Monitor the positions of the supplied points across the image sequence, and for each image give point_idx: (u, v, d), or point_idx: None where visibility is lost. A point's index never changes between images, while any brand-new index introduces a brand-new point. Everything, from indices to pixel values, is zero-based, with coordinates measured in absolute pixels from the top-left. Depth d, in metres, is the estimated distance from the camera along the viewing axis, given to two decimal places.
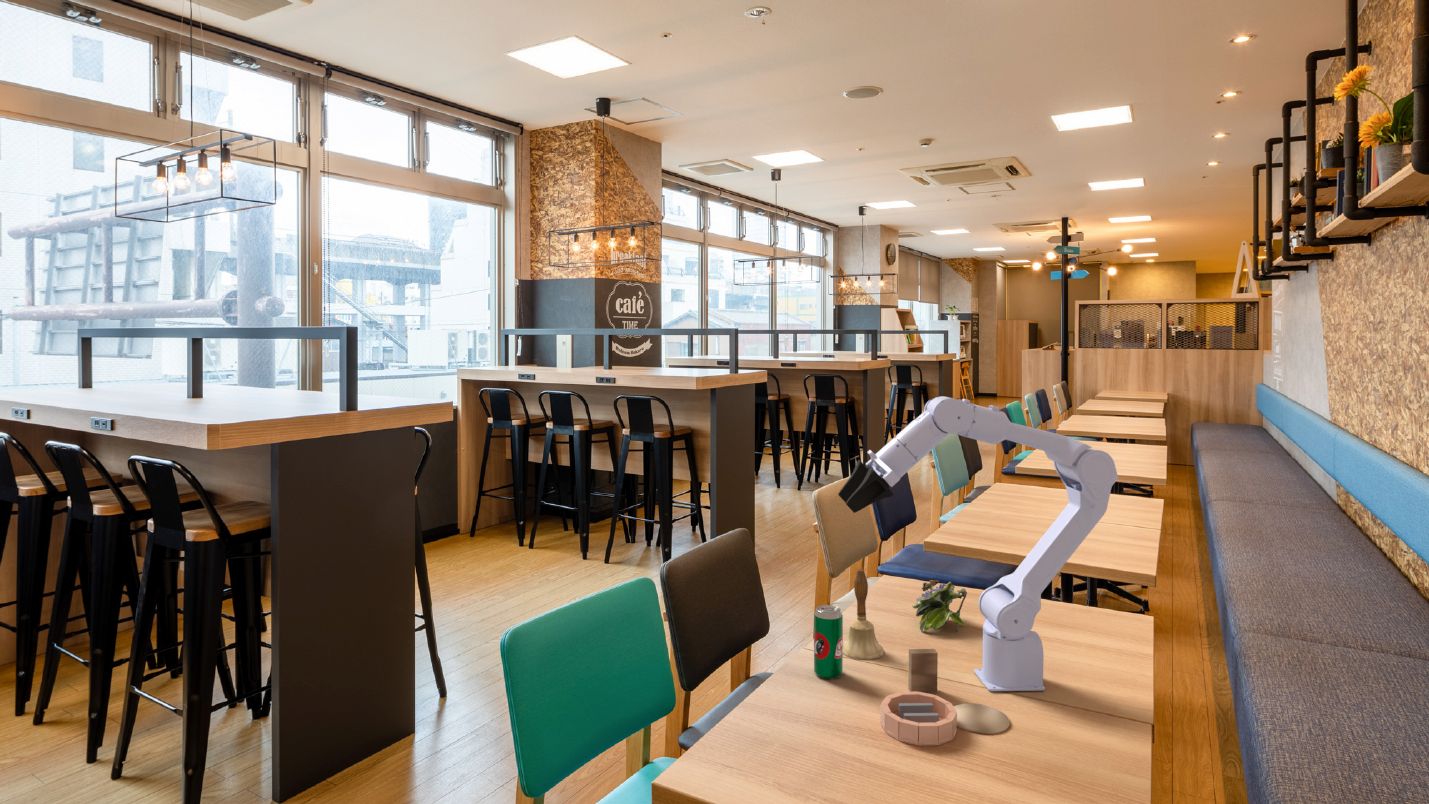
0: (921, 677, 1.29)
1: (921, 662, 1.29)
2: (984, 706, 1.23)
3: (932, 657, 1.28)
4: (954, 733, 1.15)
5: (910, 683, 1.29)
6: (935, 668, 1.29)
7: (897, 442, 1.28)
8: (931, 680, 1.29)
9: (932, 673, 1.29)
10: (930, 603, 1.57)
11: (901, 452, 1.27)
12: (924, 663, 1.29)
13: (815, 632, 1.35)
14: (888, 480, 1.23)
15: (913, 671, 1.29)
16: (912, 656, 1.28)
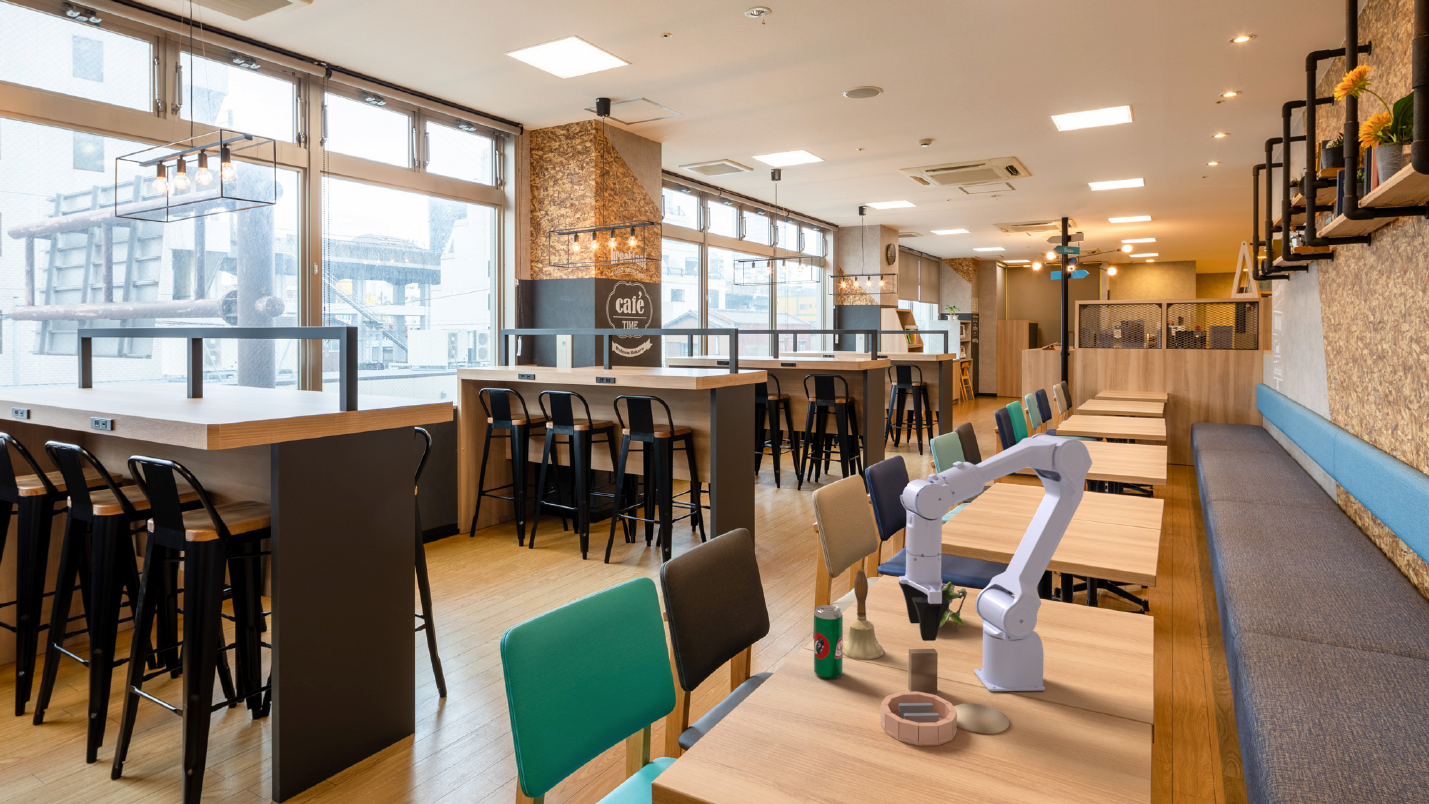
0: (921, 677, 1.29)
1: (921, 662, 1.29)
2: (984, 706, 1.23)
3: (932, 657, 1.29)
4: (954, 733, 1.15)
5: (910, 683, 1.29)
6: (935, 668, 1.29)
7: (912, 556, 1.26)
8: (931, 680, 1.29)
9: (932, 673, 1.29)
10: None
11: (922, 562, 1.25)
12: (924, 663, 1.29)
13: (815, 632, 1.35)
14: (934, 601, 1.21)
15: (913, 671, 1.29)
16: (912, 656, 1.28)
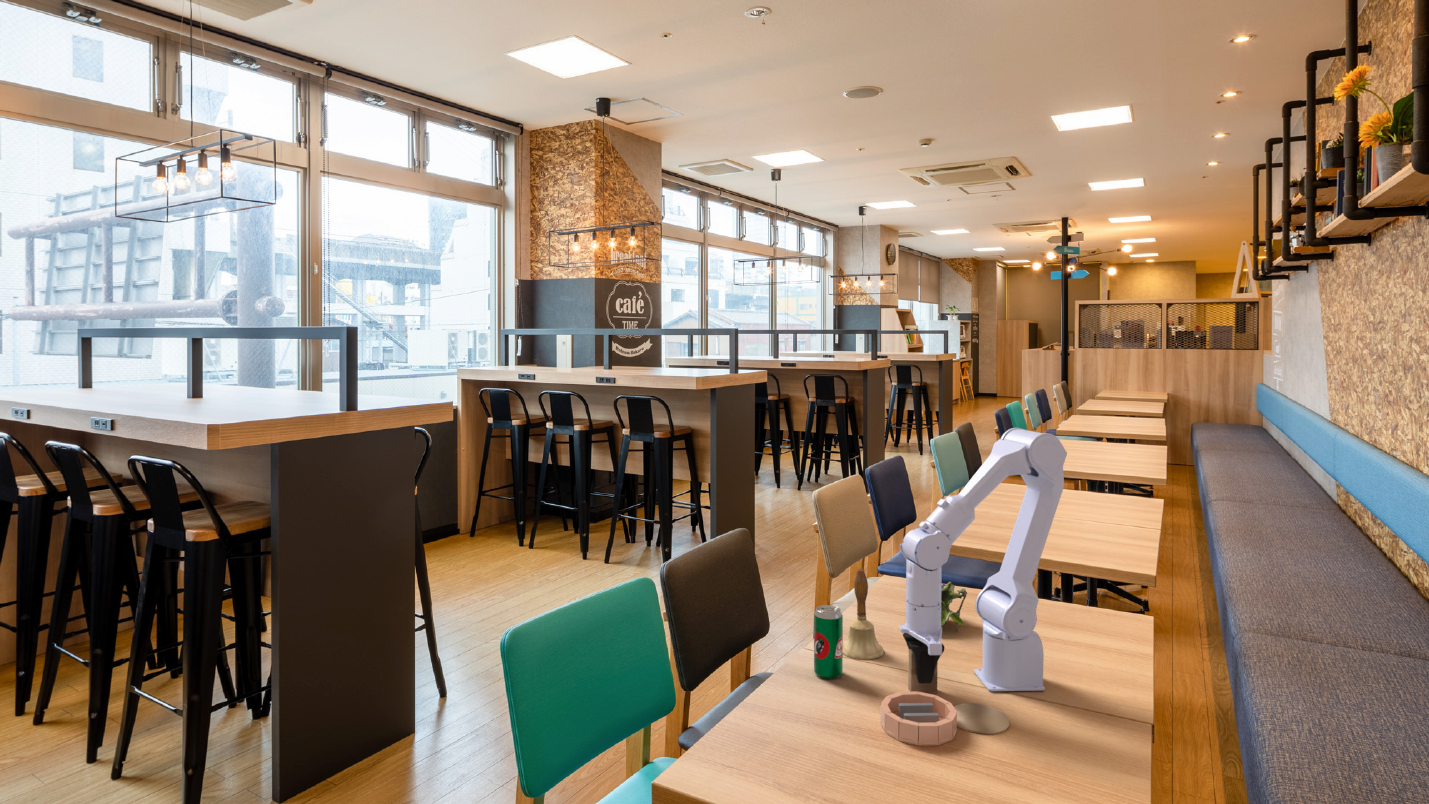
0: None
1: None
2: (984, 706, 1.23)
3: None
4: (954, 733, 1.15)
5: (910, 683, 1.29)
6: (935, 668, 1.29)
7: (912, 606, 1.27)
8: None
9: None
10: None
11: (922, 612, 1.26)
12: None
13: (815, 632, 1.35)
14: (934, 653, 1.22)
15: (913, 671, 1.29)
16: (912, 656, 1.28)
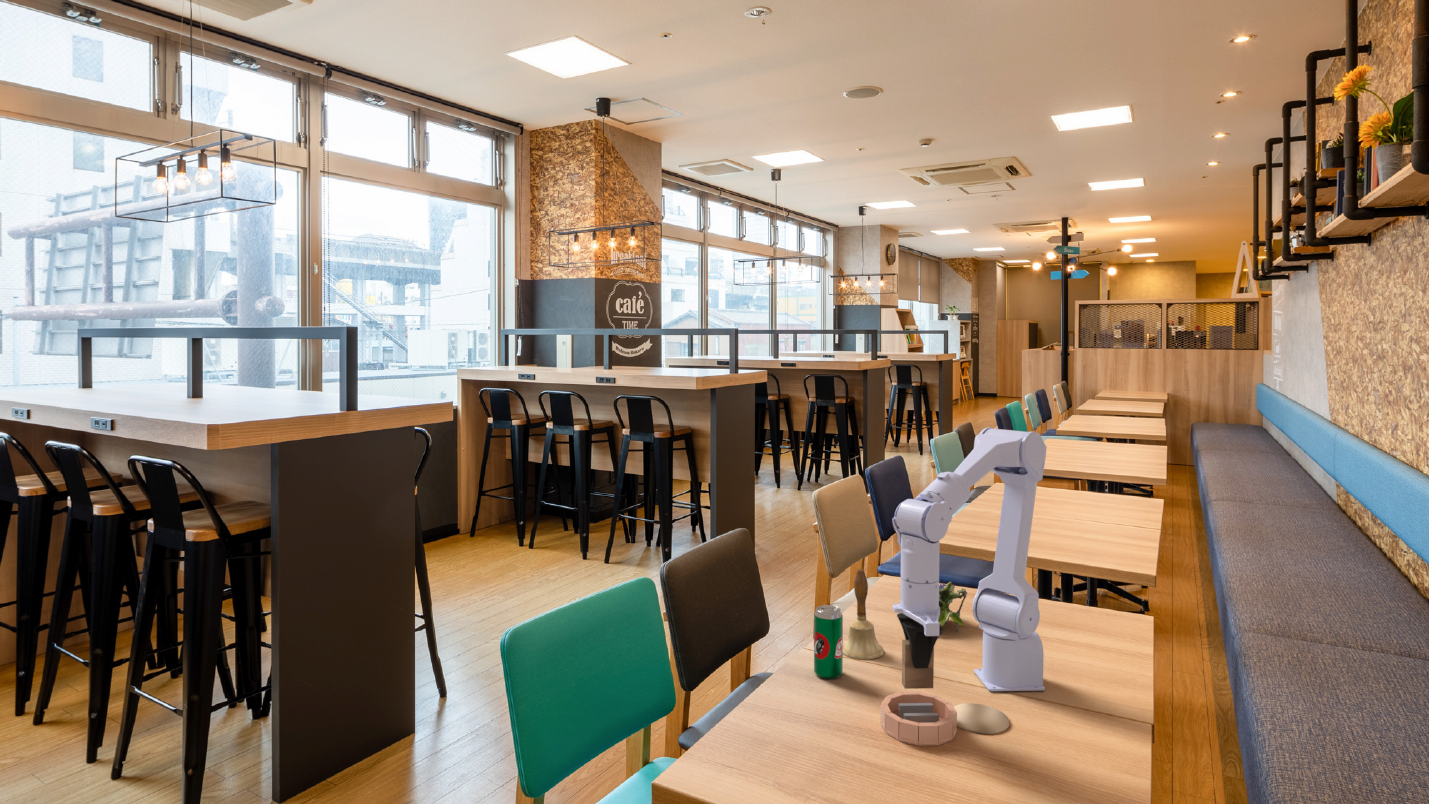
0: (916, 670, 1.17)
1: None
2: (984, 706, 1.23)
3: None
4: (954, 733, 1.15)
5: (904, 677, 1.18)
6: (931, 661, 1.17)
7: (907, 583, 1.16)
8: (926, 674, 1.17)
9: (928, 666, 1.17)
10: None
11: (918, 590, 1.15)
12: None
13: (815, 632, 1.35)
14: (931, 633, 1.10)
15: (907, 664, 1.17)
16: (906, 647, 1.17)
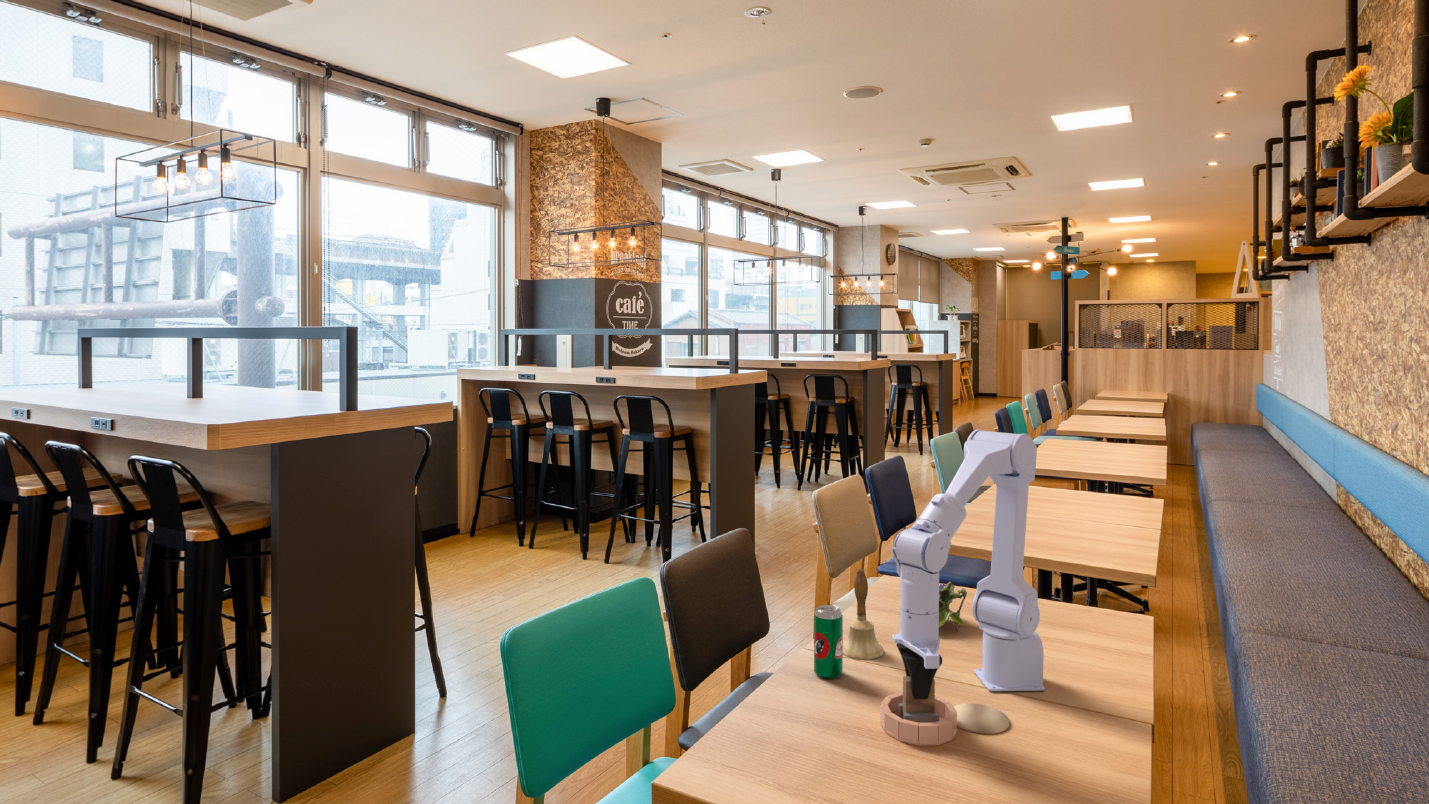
0: (917, 707, 1.17)
1: None
2: (984, 706, 1.23)
3: None
4: (954, 733, 1.15)
5: None
6: (932, 697, 1.17)
7: (906, 614, 1.15)
8: (927, 711, 1.17)
9: (929, 703, 1.17)
10: None
11: (917, 621, 1.14)
12: None
13: (815, 632, 1.35)
14: (931, 666, 1.10)
15: (908, 701, 1.17)
16: (907, 684, 1.16)
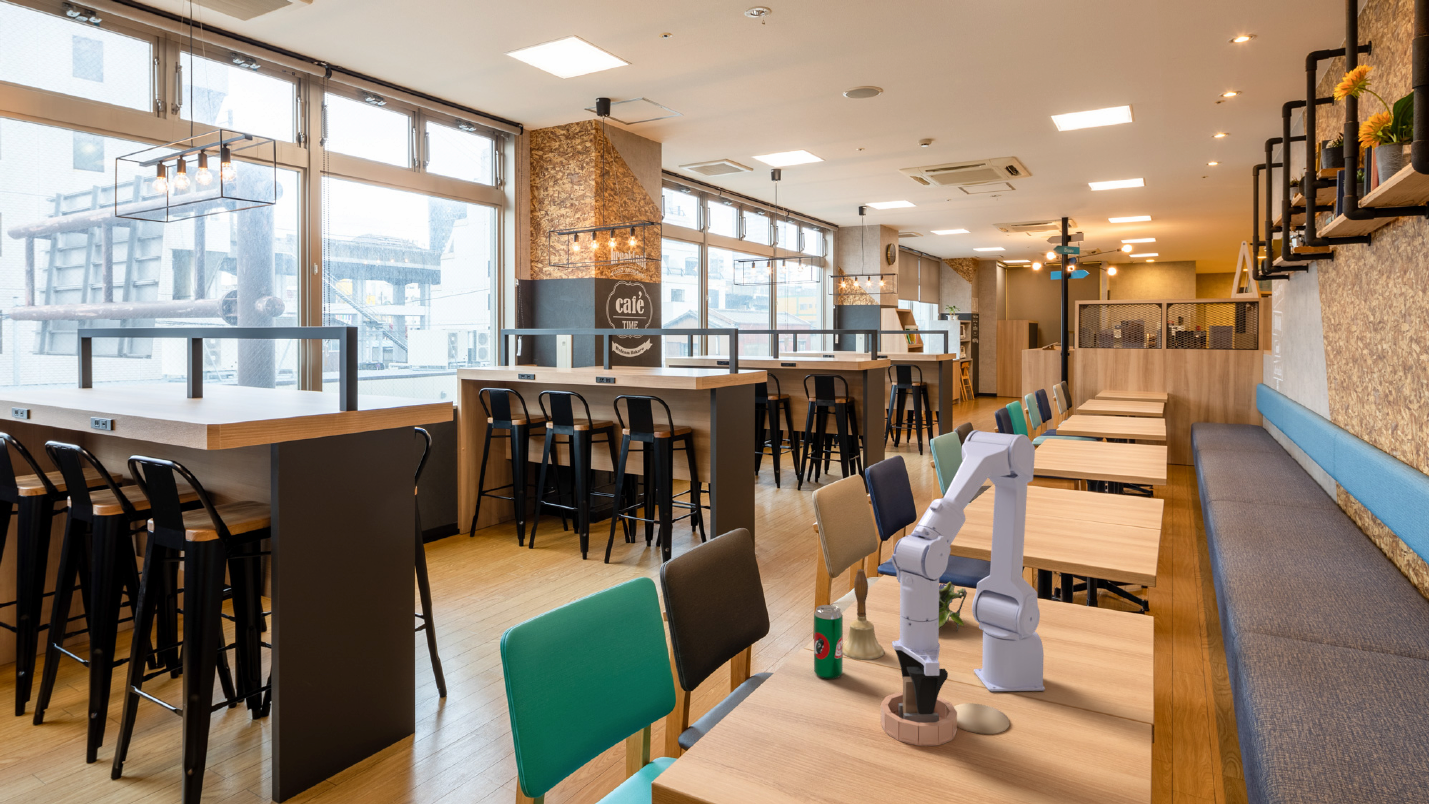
0: None
1: None
2: (984, 706, 1.23)
3: None
4: (954, 733, 1.15)
5: None
6: None
7: (906, 621, 1.15)
8: None
9: None
10: None
11: (917, 628, 1.14)
12: None
13: (815, 632, 1.35)
14: (931, 673, 1.10)
15: (908, 702, 1.17)
16: (907, 685, 1.16)
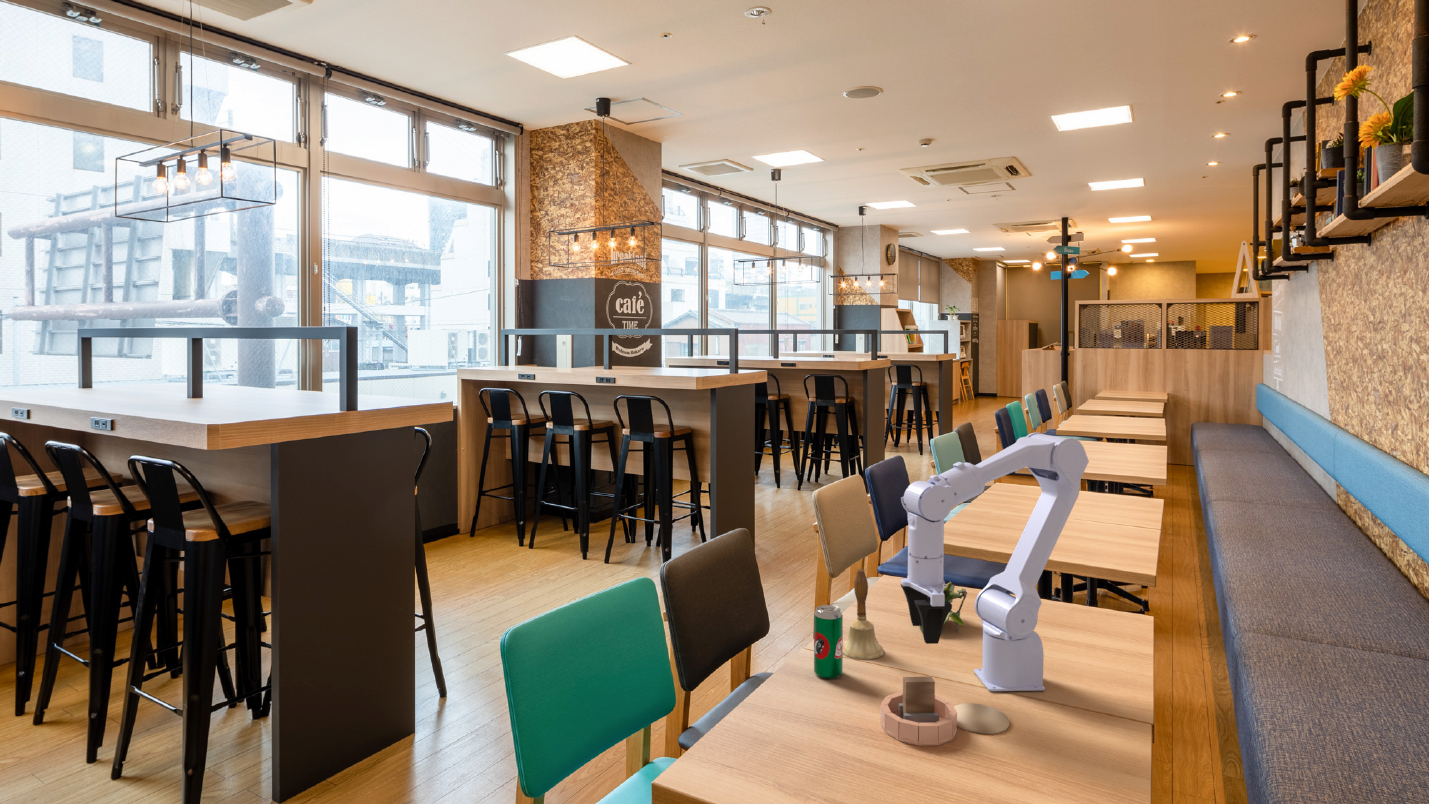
0: (916, 708, 1.17)
1: (916, 691, 1.17)
2: (984, 706, 1.23)
3: (929, 686, 1.16)
4: (954, 733, 1.15)
5: None
6: (932, 698, 1.17)
7: (914, 559, 1.25)
8: (927, 712, 1.17)
9: (929, 704, 1.17)
10: None
11: (924, 565, 1.24)
12: (919, 692, 1.17)
13: (815, 632, 1.35)
14: (937, 604, 1.20)
15: (908, 702, 1.17)
16: (907, 685, 1.16)
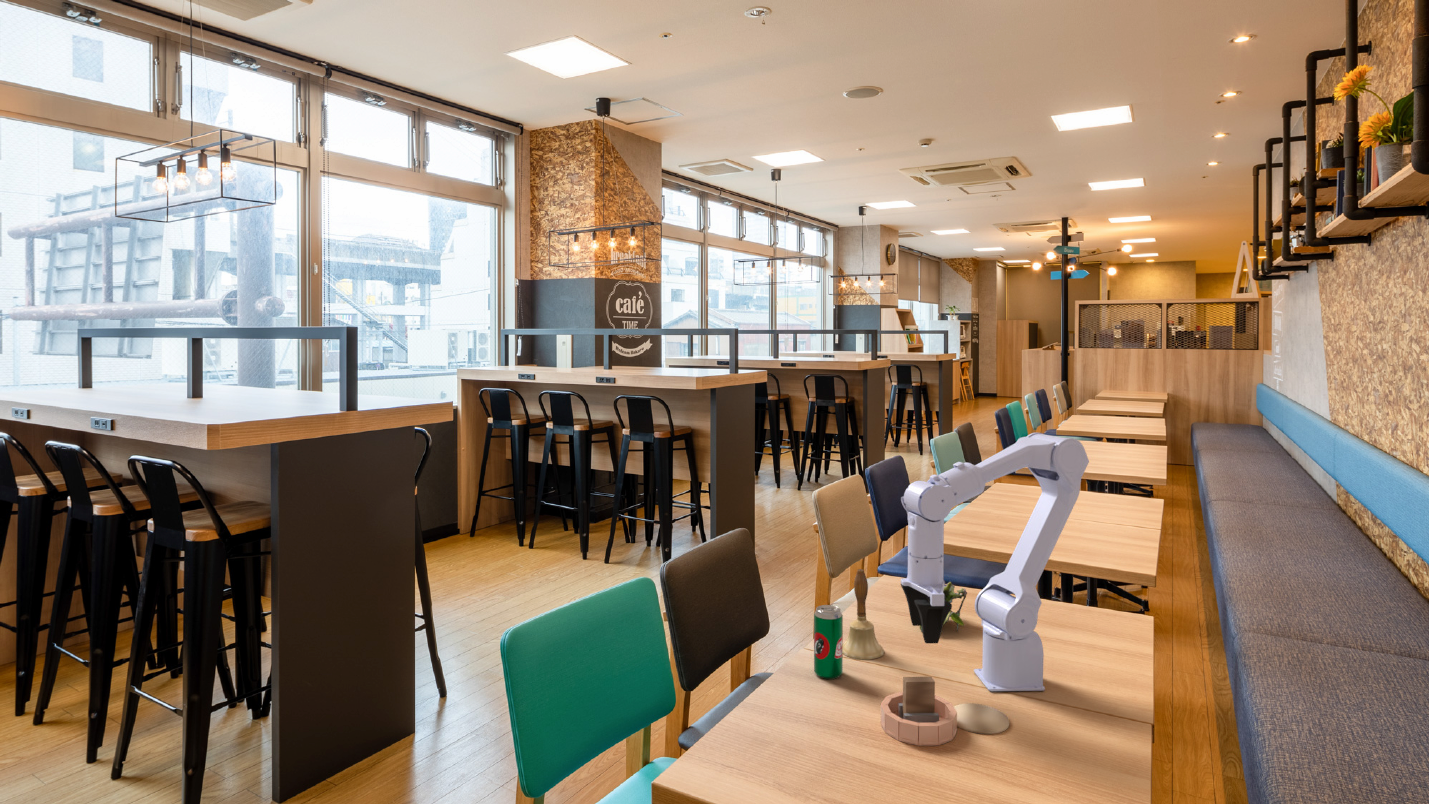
0: (917, 708, 1.17)
1: (916, 691, 1.17)
2: (984, 706, 1.23)
3: (929, 686, 1.16)
4: (954, 733, 1.15)
5: None
6: (932, 698, 1.17)
7: (914, 558, 1.25)
8: (927, 712, 1.17)
9: (929, 704, 1.17)
10: None
11: (924, 564, 1.24)
12: (919, 692, 1.17)
13: (815, 632, 1.35)
14: (936, 603, 1.20)
15: (908, 702, 1.17)
16: (907, 685, 1.16)
